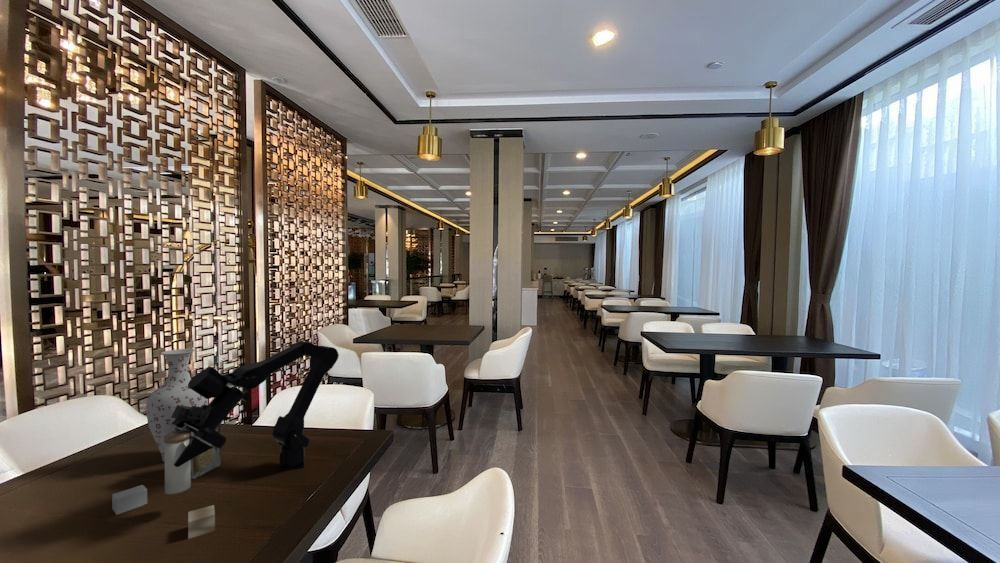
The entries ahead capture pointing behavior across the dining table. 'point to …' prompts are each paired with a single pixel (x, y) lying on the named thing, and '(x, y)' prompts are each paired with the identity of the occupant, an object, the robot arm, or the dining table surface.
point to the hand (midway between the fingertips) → (171, 463)
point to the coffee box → (205, 460)
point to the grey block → (129, 499)
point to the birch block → (201, 521)
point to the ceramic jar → (173, 448)
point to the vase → (171, 396)
